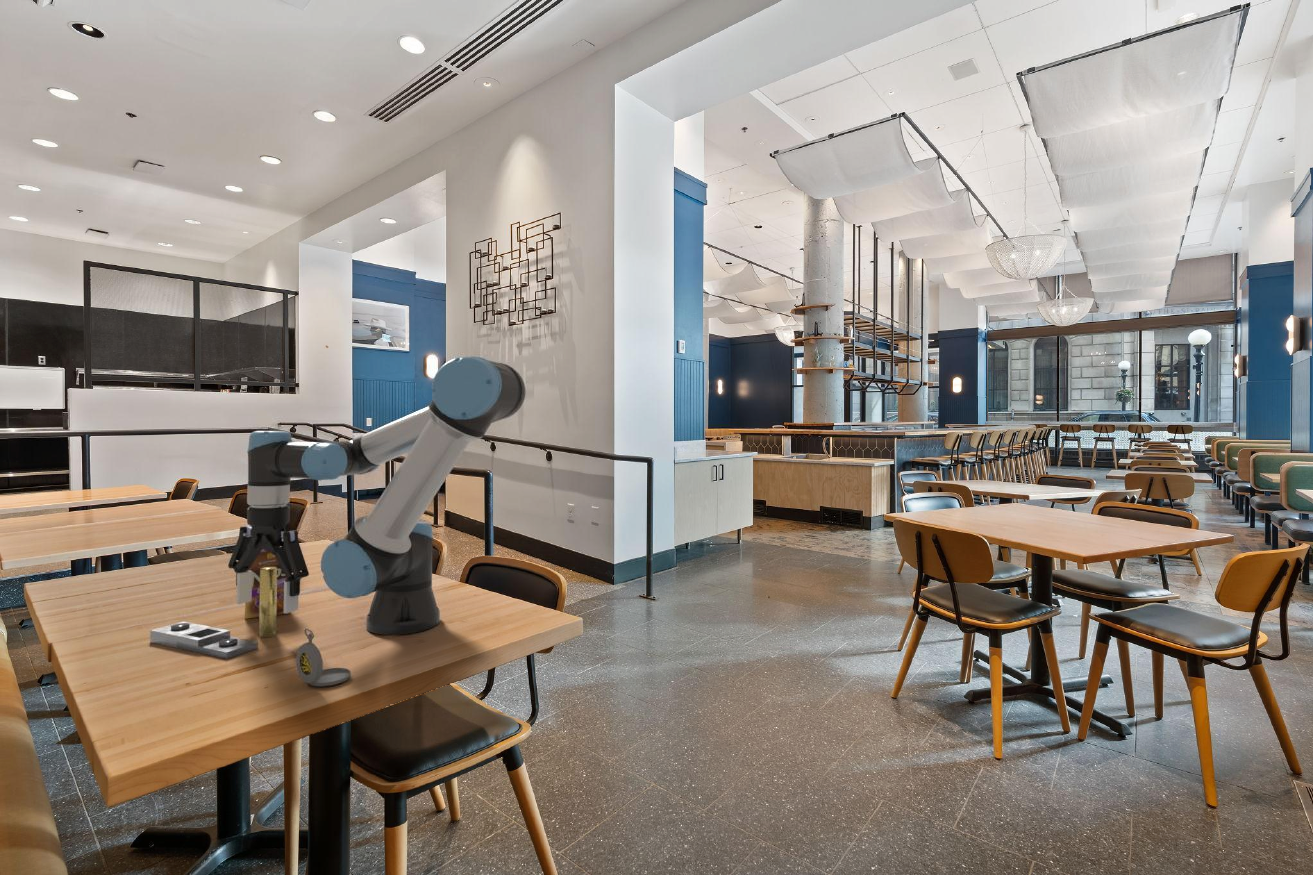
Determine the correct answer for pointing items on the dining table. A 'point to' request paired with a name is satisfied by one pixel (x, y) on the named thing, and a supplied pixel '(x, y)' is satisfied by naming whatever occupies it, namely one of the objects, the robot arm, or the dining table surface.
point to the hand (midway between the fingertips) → (267, 607)
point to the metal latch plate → (201, 639)
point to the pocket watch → (317, 666)
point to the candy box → (260, 562)
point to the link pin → (268, 602)
